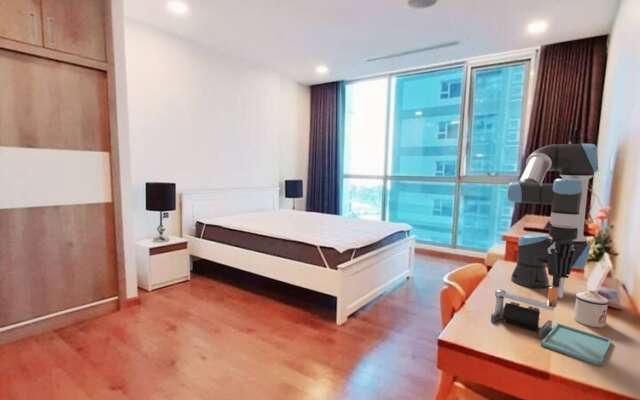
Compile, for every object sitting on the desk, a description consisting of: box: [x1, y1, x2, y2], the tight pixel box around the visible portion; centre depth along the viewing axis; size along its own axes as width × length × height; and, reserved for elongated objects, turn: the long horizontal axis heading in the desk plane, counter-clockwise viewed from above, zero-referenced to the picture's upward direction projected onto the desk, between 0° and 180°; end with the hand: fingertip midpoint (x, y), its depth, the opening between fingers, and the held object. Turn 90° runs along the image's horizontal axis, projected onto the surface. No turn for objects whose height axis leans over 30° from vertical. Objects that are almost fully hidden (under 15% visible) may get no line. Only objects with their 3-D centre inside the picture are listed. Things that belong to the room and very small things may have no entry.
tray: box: [540, 323, 612, 368], centre depth 102 cm, size 19×14×1 cm
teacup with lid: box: [573, 289, 610, 328], centre depth 118 cm, size 12×9×12 cm
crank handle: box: [494, 285, 558, 311], centre depth 113 cm, size 3×18×8 cm, turn 42°
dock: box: [490, 296, 553, 340], centre depth 114 cm, size 11×16×8 cm
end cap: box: [502, 301, 541, 331], centre depth 114 cm, size 10×7×7 cm
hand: (557, 295), depth 111 cm, fingers closed
